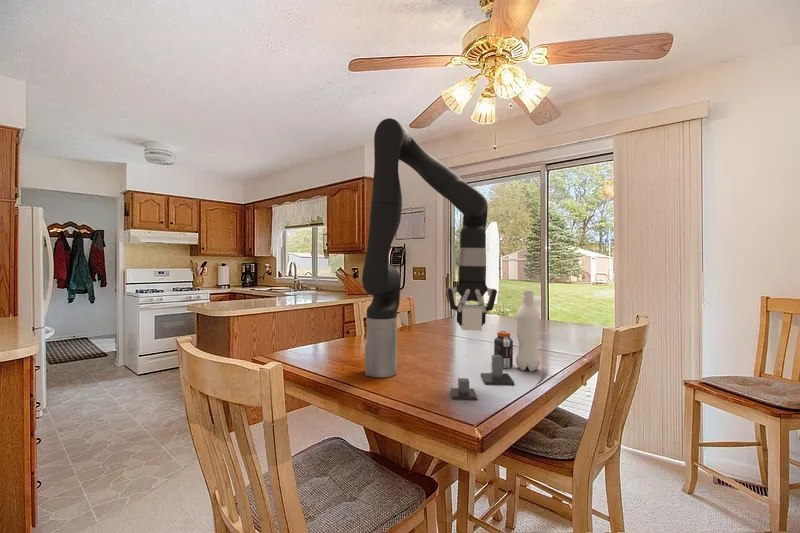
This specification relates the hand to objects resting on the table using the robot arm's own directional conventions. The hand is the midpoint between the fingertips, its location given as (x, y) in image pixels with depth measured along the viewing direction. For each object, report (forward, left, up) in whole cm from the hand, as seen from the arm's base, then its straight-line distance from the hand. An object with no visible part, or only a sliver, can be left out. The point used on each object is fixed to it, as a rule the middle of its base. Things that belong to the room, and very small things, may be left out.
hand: (470, 325), depth 105 cm
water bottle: (+20, +16, -17) cm, 31 cm away
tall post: (+8, +4, -17) cm, 19 cm away
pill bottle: (+13, +19, -17) cm, 28 cm away
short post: (-3, -9, -17) cm, 19 cm away
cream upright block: (0, 0, -1) cm, 1 cm away
